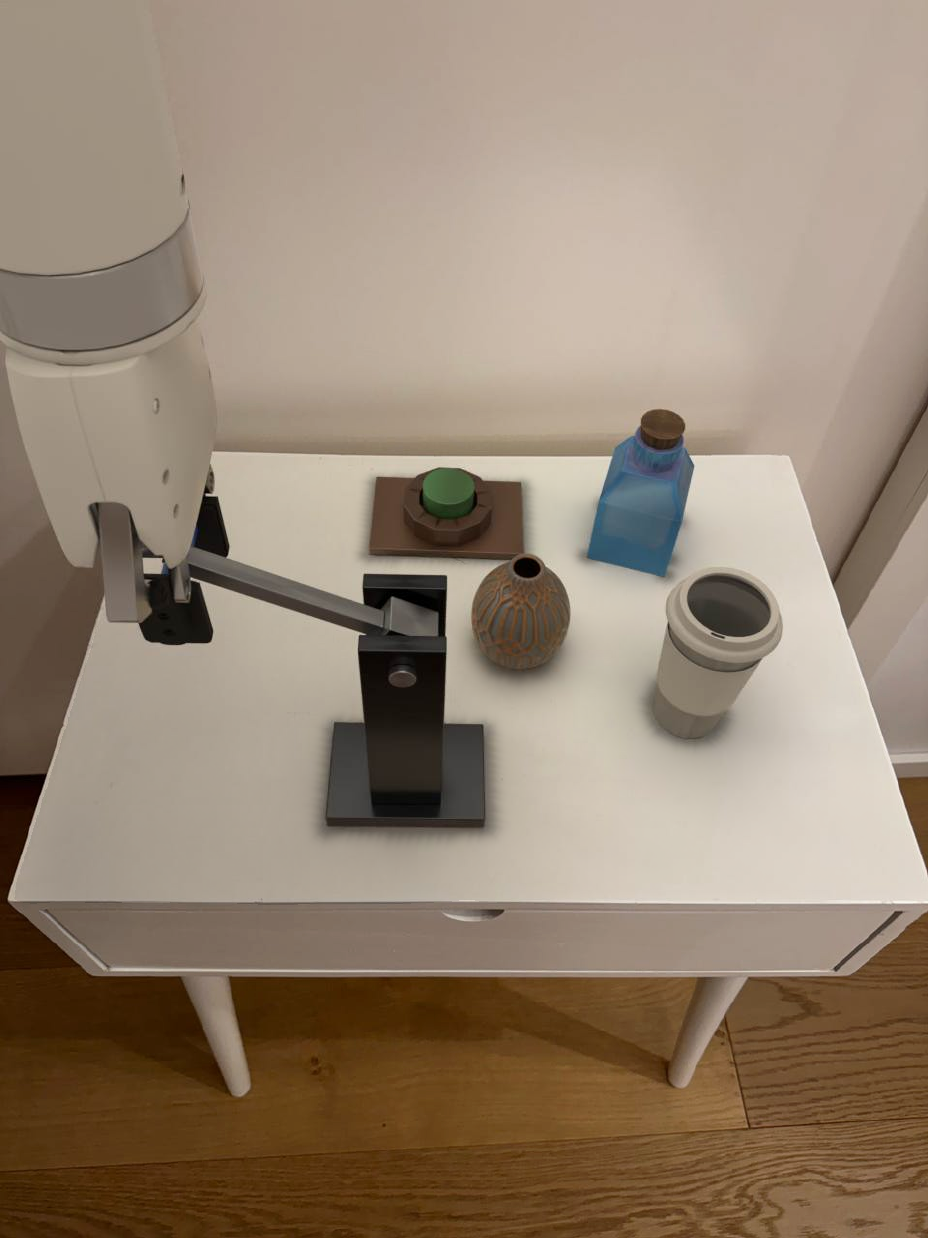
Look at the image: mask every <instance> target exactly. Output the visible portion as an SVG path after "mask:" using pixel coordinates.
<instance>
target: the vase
mask: <svg viewBox="0 0 928 1238" xmlns="http://www.w3.org/2000/svg"><path fill="white" fill-rule="evenodd" d="M470 612H471V613H470V617H471V618H470V619H471V628H472V629H471V630H472V633H473V635H474V638H475V641H476V644H477V645H478V647H479V649H481V651H482V652H483V653H484V654H485V656H486V657H487V658H489V659H490V660H491V661H493V662H494V663H496V664H497V665H500V666H502V667H505V668H508V669H514V670H526V669H532V668H536V667H538V666H541V665H542V664H544V663H546V662H548V660H550V659H551V658H553V656H555V654H556V653H557V652H558V651H559V649H560V648H561V646H562V645H563V643H564V642H565V640H566V637H567V636H568V632H569V628H570V623H571V615H572V614H571V613H572V611H571V603H570V599H569V594H568V592H567V589H566V587H565V585H564V583H563V581H562V580H561V579H560V577H559V576H558V575H557V574H556V572H554V571H553V570H552V569H550V568H549V567H548V566H546V564H545V563H544V561H543V560H542V559H541V558H540V557H538V555H535V554H532V553H524V554H520V555H517V556H515V557H514V558H513V559H510V560H509V561H507V562H504V563H502V564H500V565H498V566H496V567H495V568H493V569H492V570H491V571H489V573H488V574H486V576H485V577H484V578H483V579H482V580H481V583H480V584H479V586H478V587H477V588H476V591H475V594H474V597H473V600H472V603H471V611H470Z"/></svg>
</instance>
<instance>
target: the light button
mask: <svg viewBox="0 0 928 1238" xmlns="http://www.w3.org/2000/svg"><path fill="white" fill-rule="evenodd" d="M454 468H455V467H443V468H442V469H438V470H435V471H433V472H431V473H430V474H429V475H428V476H427V477H426V478H425V480H424V482H423V505H424V507H425V509H426V510H427V512H429V513H430V514H431V515H433V516H434V517H437V518H440V519H458V518H461V517H463V516H465V515H466V514H467V513H469V512H470V510H471V509H472V507H473V502H474V482H473V480H472V478H471V477H470V476H469V475H468V474H467V473H465V472H463V471H461V470H458V469H454Z"/></svg>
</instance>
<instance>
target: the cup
mask: <svg viewBox="0 0 928 1238" xmlns="http://www.w3.org/2000/svg"><path fill="white" fill-rule="evenodd" d="M777 600H778V599H777V598H776V596H775V595H774V593H773V592H772V590H771V589H770V588H769V587H768V586H767V585H766V584H765V583H764V582H763V581H761V580H760V579H759V578H757V577H756V576H754V575H752V574H750V573H748V572H745V571H743V570H741V569H738V568H734V567H727V566H711V567H706V568H705V567H704V568H702V569H700V570H697V571H695V572H693V573H692V574H690V575H689V576H687V577H685V578H684V579H682V580H680V581H679V582H677V584H676V585H675V586H674V587H673V588H672V589H671V591H670V592H669V594H668V596H667V598H666V601H665V616H666V621H667V623H666V628H665V632H664V637H663V642H662V647H661V651H660V656H659V661H658V665H657V670H656V684H655V685H656V687H655V691H654V695H653V700H652V712H653V715H654V717H655V720H656V721H657V723H658V724H659V725H660V727H662V728H663V729H664V730H665V731H667V732H668V733H669V734H672V735H674V736H676V737H680V738H682V739H699V738H702V737H703V738H704V737H705V736H707V735H709V734H710V733H712V732H713V731H714V729H715V728H716V727H717V725H718V724H719V722H720V721H721V719H722V718H723V716H724V715H725V713H726V711H727V710H729V708H731V707H732V705H734V703H735V701H736V700H737V698H738V697H739V696H740V694H741V692H742V691H743V689H744V688H745V686H746V685H747V683H748V682H749V681H750V679H751V678H752V676H753V674H754V673H755V671H756V670H757V668H758V666H759V665H760V663H761V662H762V660H763V659H764V658H765V657H767V656H768V655H770V654H771V653H772V652H774V651H775V649H776V648H777V647H778V646H779V644H780V642H781V640H782V637H783V631H784V624H783V616H782V613H781V611H780V607H779V603H778V601H777Z"/></svg>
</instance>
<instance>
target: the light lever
mask: <svg viewBox="0 0 928 1238" xmlns="http://www.w3.org/2000/svg"><path fill="white" fill-rule="evenodd" d="M197 533H198V527H197V525H196V527H195V531H194V535H193V539H192V542H191V546H190V549H189V552H188V554H187V556H186V557H187V562H188V568H189V573H190V579H195V580H197V581H199V582H200V581H201V582H203V583H206V584H209V585H212V586H216V587H219V588H222V589H225V590H228V591H231V592H234V593H238V594H240V595H243V596H246V597H250V598H252V599H256V600H258V601H263V602H265V603H268V604H272V605H274V606H276V607H277V606H278V607H281V608H284V609H286V610H290V611H293V612H295V613H299V614H303V615H305V616H308V617H311V618H315V619H317V620H321V621H324V622H326V623H328V624H329V623H330V624H333V625H335V626H339V627H342V628H345V629H348V630H351V631H355V632H358V633H361V634H362V635H395V636H438V612H436V611H433V610H430V609H427V608H425V607H422V606H419V605H416V604H413V603H410V602H407V601H404V600H401V599H399V598H396V597H393V596H392V597H390V599H389V600H388V601H387V602H386V604H385V605H384V606H383V607H382V608H381V610H379V609H376V608H373V607H370V606H367V605H364V603H361V602H358V601H355V600H352V599H349V598H346V597H343V596H340V595H338V594H335V593H331V592H328V591H325V590H322V589H320V588H317V587H314V586H311V585H307V584H305V583H302V582H300V581H296V580H294V579H290V578H287V577H284V576H281V575H278V574H275V573H273V572H269V571H267V570H263V569H261V568H257V567H255V566H251V565H249V564H246V563H243V562H240V561H237V560H235V559H232V558H231V559H230V558H229V557H226V558H225V557H222V556H219V555H216V554H213V553H210V552H208V551H205V550H202V549H199V548H196V547H194V546H195V542H196V537H197ZM160 574H169V572H168V567H167V564H163V563H162V567H161V571H160Z"/></svg>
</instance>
